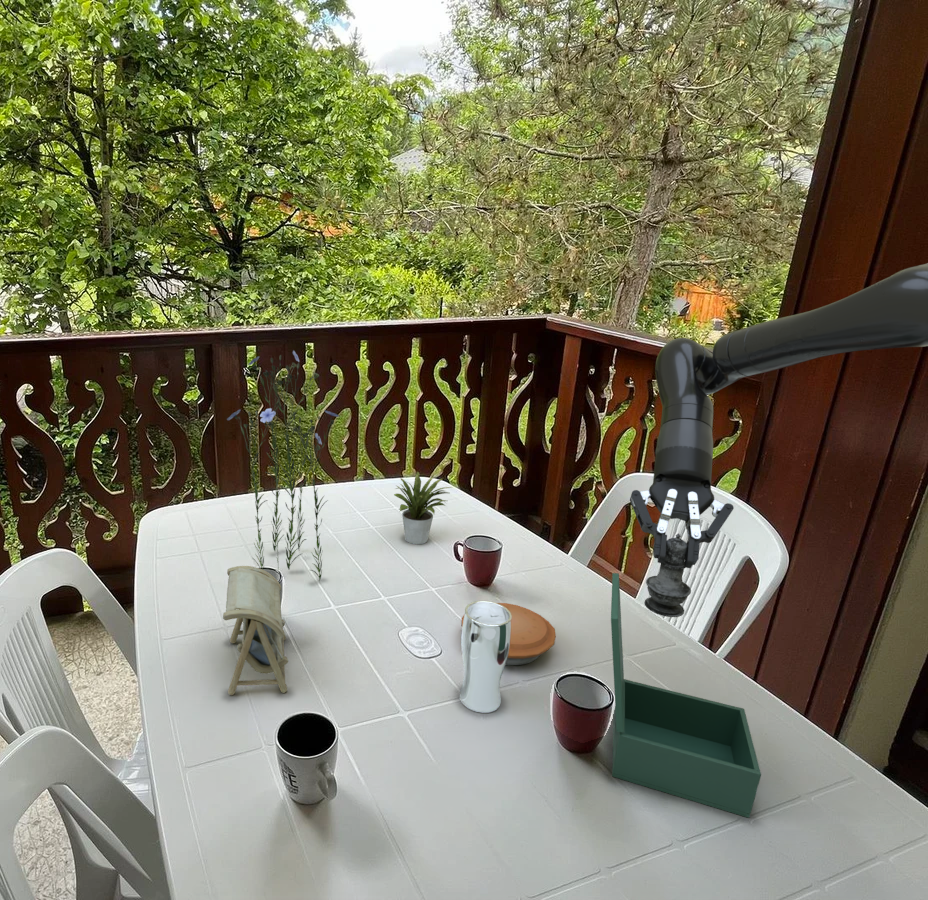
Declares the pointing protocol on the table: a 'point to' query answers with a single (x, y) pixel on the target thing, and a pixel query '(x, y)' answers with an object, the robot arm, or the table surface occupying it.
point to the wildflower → (268, 417)
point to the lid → (617, 652)
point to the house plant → (418, 509)
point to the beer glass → (484, 654)
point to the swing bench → (256, 624)
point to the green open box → (686, 748)
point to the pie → (527, 635)
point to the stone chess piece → (669, 582)
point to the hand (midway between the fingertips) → (675, 563)
